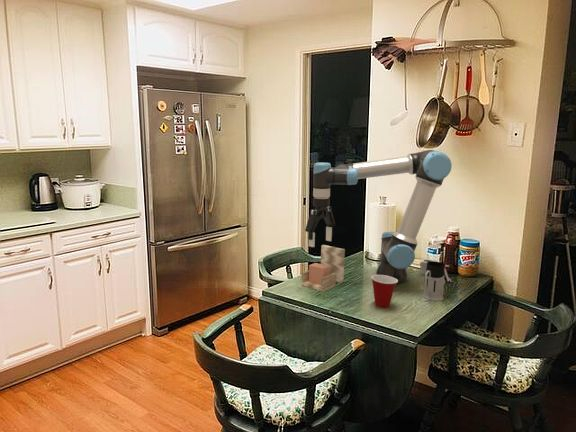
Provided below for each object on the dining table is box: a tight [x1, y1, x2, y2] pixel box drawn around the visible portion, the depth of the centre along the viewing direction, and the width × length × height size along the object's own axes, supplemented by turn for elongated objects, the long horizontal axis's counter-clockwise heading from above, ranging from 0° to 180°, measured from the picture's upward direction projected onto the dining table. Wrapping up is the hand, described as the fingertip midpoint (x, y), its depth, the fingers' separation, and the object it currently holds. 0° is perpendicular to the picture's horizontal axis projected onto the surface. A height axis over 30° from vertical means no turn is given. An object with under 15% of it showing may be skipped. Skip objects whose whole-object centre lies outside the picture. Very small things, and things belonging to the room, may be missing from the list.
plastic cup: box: [370, 274, 398, 309], centre depth 191 cm, size 11×11×12 cm
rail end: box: [308, 262, 330, 285], centre depth 214 cm, size 8×5×8 cm, turn 51°
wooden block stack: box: [301, 244, 346, 292], centre depth 216 cm, size 12×17×16 cm
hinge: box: [419, 258, 452, 284], centre depth 228 cm, size 17×5×10 cm, turn 23°
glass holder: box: [422, 260, 446, 301], centre depth 200 cm, size 9×14×15 cm, turn 140°
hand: (320, 243), depth 211 cm, fingers open, 13 cm apart
